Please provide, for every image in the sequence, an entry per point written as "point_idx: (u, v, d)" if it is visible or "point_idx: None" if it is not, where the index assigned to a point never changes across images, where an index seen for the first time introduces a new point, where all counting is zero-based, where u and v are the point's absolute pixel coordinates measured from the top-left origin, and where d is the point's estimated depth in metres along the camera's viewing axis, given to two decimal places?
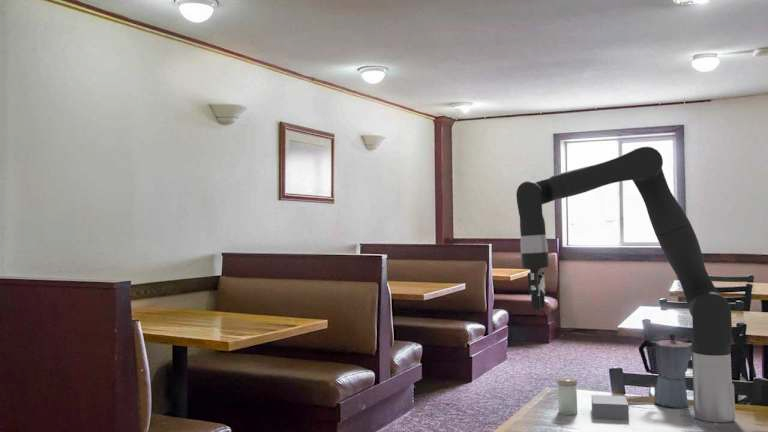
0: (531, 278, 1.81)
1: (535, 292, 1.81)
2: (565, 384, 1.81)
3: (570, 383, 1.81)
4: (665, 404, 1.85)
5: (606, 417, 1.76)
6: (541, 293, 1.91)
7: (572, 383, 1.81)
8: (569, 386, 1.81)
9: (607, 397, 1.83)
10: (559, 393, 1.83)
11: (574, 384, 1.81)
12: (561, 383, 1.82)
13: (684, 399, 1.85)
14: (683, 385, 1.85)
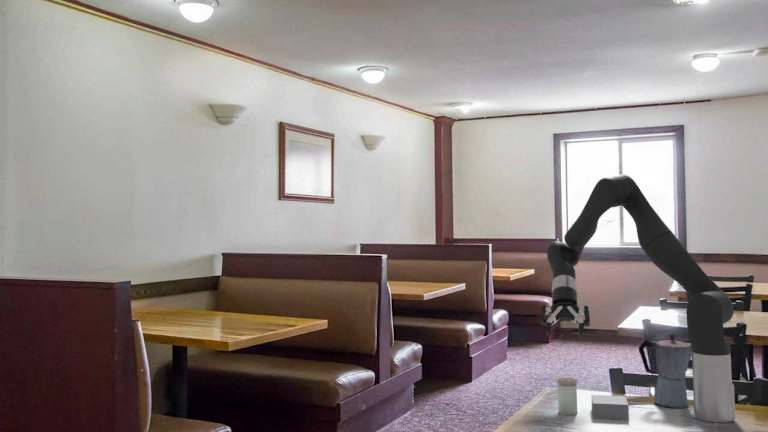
0: None
1: None
2: (565, 384, 1.81)
3: (570, 383, 1.81)
4: (665, 404, 1.85)
5: (606, 417, 1.76)
6: (579, 323, 1.97)
7: (572, 383, 1.81)
8: (569, 386, 1.81)
9: (607, 397, 1.83)
10: (559, 393, 1.83)
11: (574, 384, 1.81)
12: (561, 383, 1.82)
13: (684, 399, 1.85)
14: (683, 385, 1.85)
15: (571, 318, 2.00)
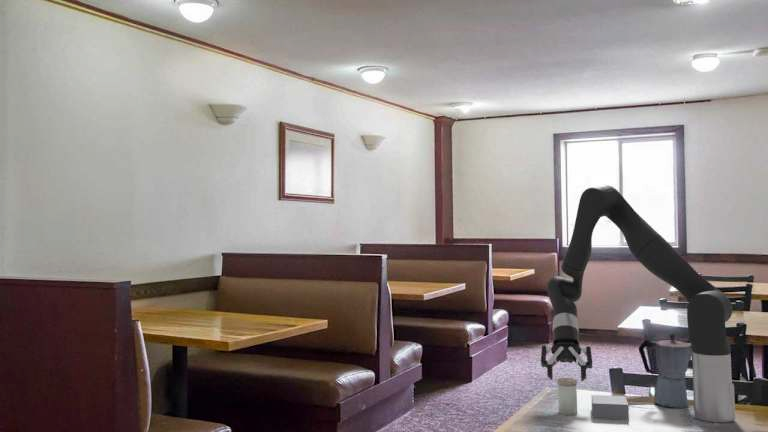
0: None
1: (541, 362, 1.92)
2: (565, 384, 1.81)
3: (570, 383, 1.81)
4: (665, 404, 1.85)
5: (606, 417, 1.76)
6: (581, 366, 1.88)
7: (572, 383, 1.81)
8: (569, 386, 1.81)
9: (607, 397, 1.83)
10: (559, 393, 1.83)
11: (574, 384, 1.81)
12: (561, 383, 1.82)
13: (684, 399, 1.85)
14: (683, 385, 1.85)
15: (573, 359, 1.91)
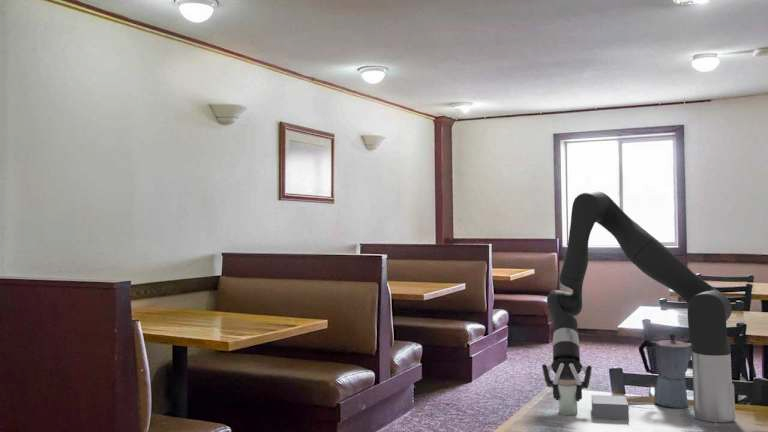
0: (543, 372, 1.89)
1: (546, 381, 1.86)
2: (565, 384, 1.81)
3: (570, 383, 1.81)
4: (665, 404, 1.85)
5: (606, 417, 1.76)
6: None
7: (572, 383, 1.81)
8: (569, 386, 1.81)
9: (607, 397, 1.83)
10: (559, 393, 1.83)
11: (574, 384, 1.81)
12: (561, 383, 1.82)
13: (684, 399, 1.85)
14: (683, 385, 1.85)
15: (570, 377, 1.86)
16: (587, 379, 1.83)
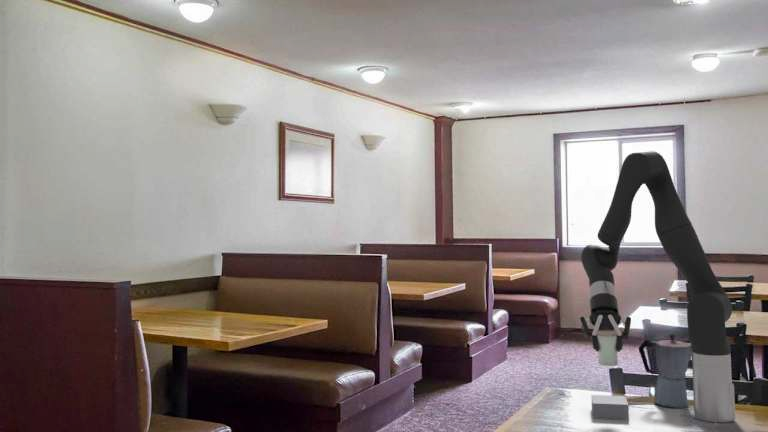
0: (581, 324, 1.87)
1: (585, 333, 1.83)
2: (605, 334, 1.78)
3: (610, 333, 1.78)
4: (665, 404, 1.85)
5: (606, 417, 1.76)
6: None
7: (612, 333, 1.78)
8: (609, 336, 1.78)
9: (607, 397, 1.83)
10: (599, 344, 1.80)
11: (614, 334, 1.79)
12: (601, 333, 1.79)
13: (684, 399, 1.85)
14: (683, 385, 1.85)
15: (610, 328, 1.83)
16: (627, 330, 1.80)
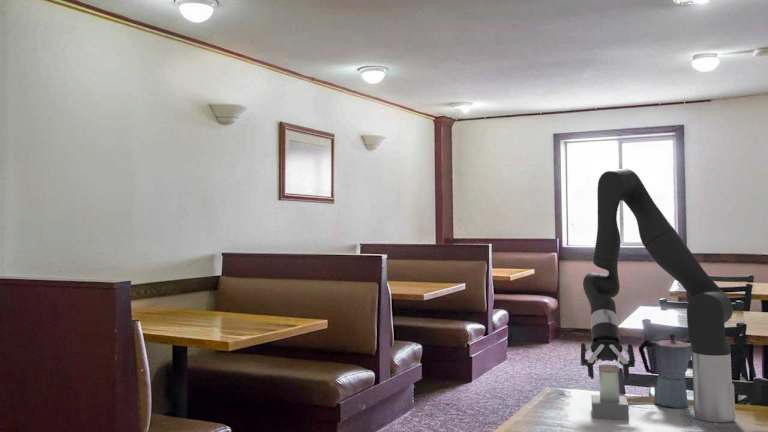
0: None
1: None
2: (607, 370, 1.78)
3: (612, 369, 1.78)
4: (665, 404, 1.85)
5: (606, 417, 1.76)
6: (623, 364, 1.81)
7: (614, 369, 1.78)
8: (611, 372, 1.78)
9: None
10: (601, 380, 1.80)
11: (616, 370, 1.79)
12: (603, 369, 1.79)
13: (684, 399, 1.85)
14: (683, 385, 1.85)
15: (614, 358, 1.83)
16: (633, 357, 1.81)
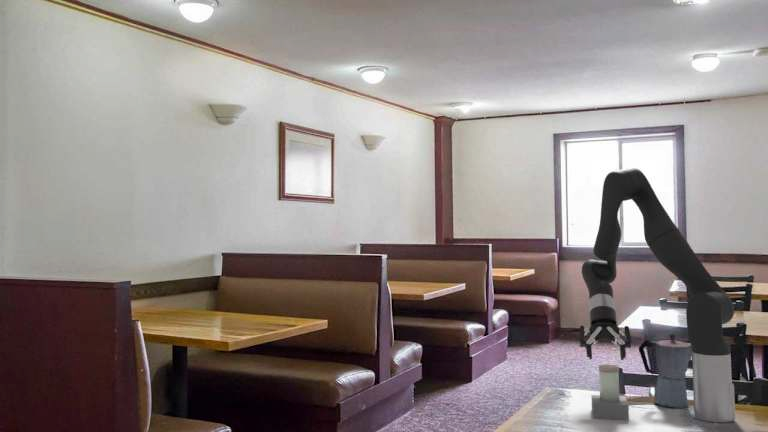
0: None
1: None
2: (607, 370, 1.78)
3: (612, 369, 1.78)
4: (665, 404, 1.85)
5: (606, 417, 1.76)
6: None
7: (614, 369, 1.78)
8: (611, 372, 1.78)
9: None
10: (601, 380, 1.80)
11: (616, 370, 1.79)
12: (603, 369, 1.79)
13: (684, 399, 1.85)
14: (683, 385, 1.85)
15: (611, 339, 1.92)
16: (629, 338, 1.90)
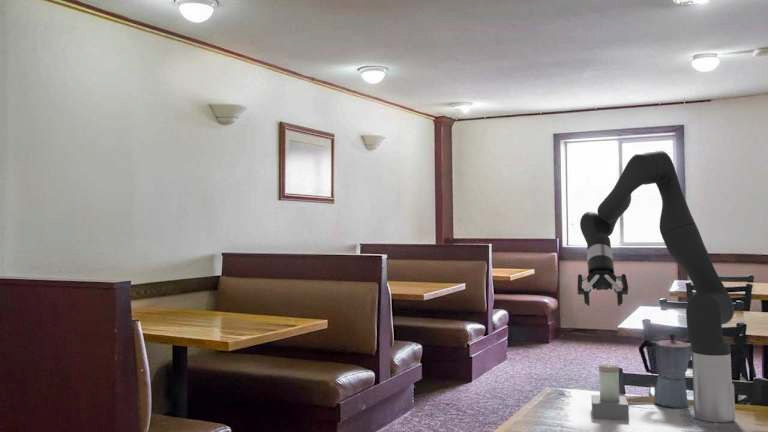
0: None
1: None
2: (607, 370, 1.78)
3: (612, 369, 1.78)
4: (665, 404, 1.85)
5: (606, 417, 1.76)
6: None
7: (614, 369, 1.78)
8: (611, 372, 1.78)
9: None
10: (601, 380, 1.80)
11: (616, 370, 1.79)
12: (603, 369, 1.79)
13: (684, 399, 1.85)
14: (683, 385, 1.85)
15: (609, 287, 1.96)
16: (626, 285, 1.94)
